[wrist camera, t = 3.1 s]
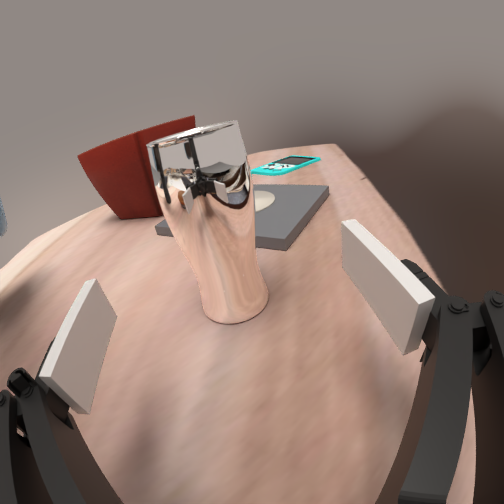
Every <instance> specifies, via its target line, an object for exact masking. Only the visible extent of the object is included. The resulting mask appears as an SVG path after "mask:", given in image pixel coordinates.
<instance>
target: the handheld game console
mask: <svg viewBox="0 0 504 504" xmlns="http://www.w3.org/2000/svg"><path fill="white" fill-rule="evenodd" d="M320 160H321V159H320V157H308V156H294V155H293V156H289V157H286V158H283V159H280V160H277V161H275V162H272V163H269V164H266V165H263V166H261V167H258V168H255V169H253V170H251V174H260V175H270V176H275V175H283V174H286V173H289V172H291V171H294V170H296V169H299V168H301V167H304V166H307V165H309V164H312V163H314V162H317V161H320Z"/></svg>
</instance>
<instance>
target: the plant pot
mask: <svg viewBox="0 0 504 504" xmlns="http://www.w3.org/2000/svg"><path fill="white" fill-rule="evenodd" d="M194 128H196V127H195V116H194V115H193V116H189V117H185V118H181V119H177V120H174V121H170V122H166V123H163V124H160V125H156V126H153V127H150V128H147V129H144V130H141V131H138V132H135V133H132V134H129V135H126V136H123V137H120V138H118V139H115V140H112V141H110V142H107V143H105V144H102V145H100V146H97V147H95V148H93V149H90V150H88V151H86V152H84V153H82V154H80V155H78V159H79V161H80V163H81V165H82V167H83V169H84V171H85V172H86V174H87V176H88V178H89V179H90V181H91V182H92V184H93V186H94V187H95V188H96V190H97V191H98V193H99V194H100V196H101V197H102V198H103V199H104V201H105V202H106V203H107V204H108V206H109V207H110V208H111V209H112V210H113V211H114V213H115V214H116V215H117V216H118V217H119V218H120V219H128V218H141V217H154V216H161V215H163V212H162V209H161V206H160V203H159V200H158V197H157V193H156V190H155V186H154V182H153V177H152V172H151V167H150V162H149V157H148V152H147V148H146V144H148V143H150V142H152V141H155V140H158V139H160V138H163V137H166V136H170V135H173V134H176V133H180V132H183V131H187V130H190V129H194Z"/></svg>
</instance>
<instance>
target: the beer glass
mask: <svg viewBox="0 0 504 504" xmlns="http://www.w3.org/2000/svg"><path fill="white" fill-rule="evenodd" d="M146 148H147V152H148V157H149V162H150V167H151V172H152V177H153V182H154V186H155V190H156V193H157V197H158V200H159V203H160V206H161V209H162V212H163V215H164V217H165V219H166V222H167V224H168V226H169V228H170V230H171V232H172V234H173V236H174V238H175V239H176V241H177V243H178V245H179V247H180V248H181V250H182V252H183V254H184V255H185V257H186V259H187V260H188V262H189V264H190V266H191V268H192V269H193V271H194V274H195V276H196V278H197V281H198V285H199V289H200V295H201V302H202V307H203V310H204V313H205V314H206V315H207V317H208V318H210V319H211V320H213V321H215V322H218V323H223V324H234V323H240V322H243V321H246V320H249V319H251V318H253V317H254V316H256V315H257V314H259V313H260V312H261V311H262V310H263V309H264V307H265V306H266V304H267V302H268V297H269V293H268V289H267V287H266V284H265V282H264V280H263V277H262V275H261V273H260V270H259V266H258V262H257V255H256V208H255V193H254V187H253V180H252V175H251V170H250V166H249V161H248V157H247V154H246V150H245V147H244V143H243V140H242V137H241V133H240V130H239V126H238V121H236V120H235V121H227V122H221V123H216V124H211V125H207V126H202V127H198V128H194V129H190V130H187V131H183V132H180V133H176V134H173V135H170V136H166V137H163V138H160V139H158V140H155V141H152V142H150V143H148V144H146Z"/></svg>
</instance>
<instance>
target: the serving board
mask: <svg viewBox="0 0 504 504" xmlns="http://www.w3.org/2000/svg"><path fill="white" fill-rule="evenodd" d="M253 187H254V193H255V208H256V247H261V248H269V249H276V250H284V251H286V250H287V249H288V248H289V247H290V245H291V244H292V243H293V241H294V240H295V239H296V237H297V236H298V235H299V234H300V232H301V231H302V230H303V228H304V227H305V226H306V224H307V223H308V222H309V221H310V219H311V218H312V217H313V215H314V214H315V213H316V211H317V210H318V209H319V207H320V206H321V205H322V203H323V202H324V201H325V199H326V198H327V197H328V195H329V186H322V185H253ZM155 229H156V232H157V235H164V236H173V234H172V232H171V230H170V228H169V226H168V224H167V222H166V219H165V220H163V221H162V222H160V223H159V224H157V225H156V226H155ZM173 237H174V236H173Z"/></svg>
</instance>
